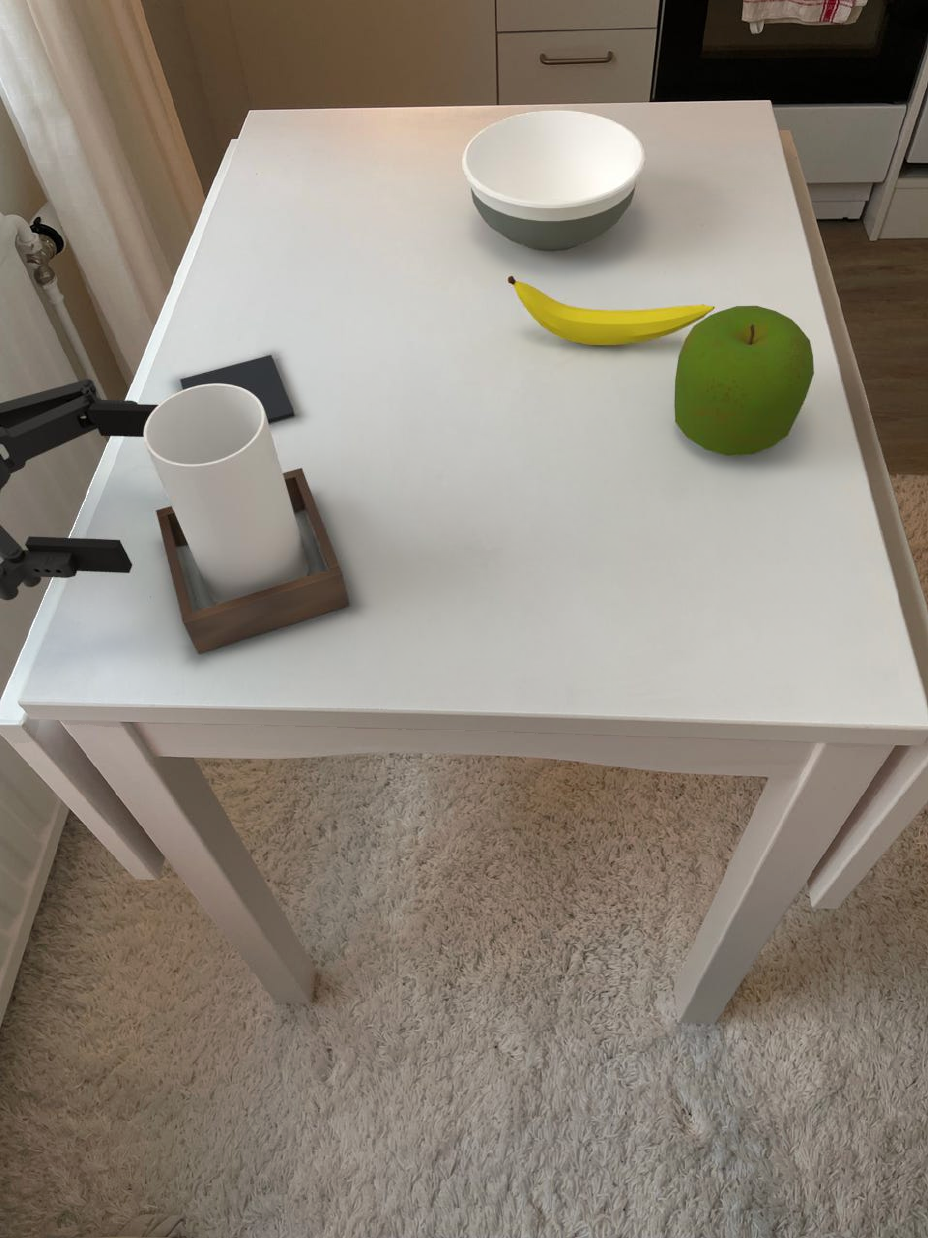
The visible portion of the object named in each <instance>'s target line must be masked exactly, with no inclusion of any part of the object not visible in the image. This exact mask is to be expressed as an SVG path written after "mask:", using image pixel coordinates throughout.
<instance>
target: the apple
mask: <svg viewBox="0 0 928 1238" xmlns="http://www.w3.org/2000/svg"><path fill="white" fill-rule="evenodd" d="M814 374H815V366H814V354H813V348H812V343H811V340H810V338H809V337H808V336H807V335H806V334H805V332H804V331H803V330H802V328H801V327H800V326H799V325H798V324H797V323H796V321H794V320H793V319H792V318H790V317H788V316H786V315H784V314H782V313H780V312H778V311H776V310H774V309H770V308H766V307H762V306H759V305H736V306H733V307H730V308H726V309H723V310H719V311H717V312H715V313H712V314H710V315H708V316H707V317H704V318H703V319H701V320H700V321H699V322H697V323H696V324H695V325H693V327H692V328H691V330H690V331H689V333H688V334H687V336H686V338H685V339H684V341H683V344H682V347H681V349H680V352H679V354H678V358H677V364H676V371H675V379H674V403H673V407H674V422H675V423H676V425H677V427H679V429H680V430H681V431H682V433H683V434H684V435H685V437H686V438H688V439H689V440H691V441H692V442H694V443H695V444H696V445H697V446H699V447H700V448H702V449H704V450H706V451H709V452H713V453H717V454H721V455H724V456H727V457H733V456H734V457H735V456H747V455H748V456H749V455H755V454H757V453H760V452H762V451H765V450H767V449H770V448H773V447H774V446H776V445H777V444H779V443H780V442H782V441H783V440H784V439H786V437H788V436H789V434H790V432H791V430H792V428H793V425H794V424H795V422H796V419H797V418H798V415H799V413H800V412H801V409H802V407H803V405H804V403H805V401H806V399H807V396H808V392H809V390H810V387H811V384H812V381H813V377H814Z"/></svg>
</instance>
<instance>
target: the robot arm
mask: <svg viewBox="0 0 928 1238" xmlns="http://www.w3.org/2000/svg"><path fill="white" fill-rule="evenodd" d="M158 405H159V404H151V403H150V404H147V403H146V404H145V403H143V404H142V403H141V404H140V403H138V402H137V401H134V400H131V399H130V400H129V399H127V400H124V399H121V400H120V399H102V398H101V395H100V394H99V391H98V389H97V387H96V385H95V383H94V381H93V380H92V379H88V378H87V379H82V380H79V381H75V382H72V383H67V384H64V385H61V386H57V387H54V388H50V389H47V390H42V391H39V392H35V393H32V394H28V395H24V396H21V397H17V398H13V399H10V400H7V401H3V402H0V445H2V446H3V447H4V449H5V450H6V452H7V454H8V457H7V458H6V459H4V457H3V455H2V453H0V492H2V489H3V488H4V487H5V486H6V484H7V483H8V482H9V480H10V478H11V476H12V474H14V473H16V472H18V471H20V470H22V469H24V468H25V467H26V464H27V461H29V460H31V459H34V458H35V457H38V456H40V455H42V454H44V453H46V452H49V451H51V450H53V449H55V448H57V447H60V446H62V445H64V444H66V443H68V442H70V441H73V440H75V439H77V438H80V437H81V436H85V435H86V434H88V433H90V432H93V431H95V430H98V432H99V434H100V437H128V438H129V437H130V438H131V437H132V438H144V427H145V424H146V421H147V419H148V417H149V416H150V414H151V413H152V412H153V410H154V409H155V408H156V407H157V406H158ZM24 546H25V547H26V548H27V549H23V548H22V546H21V545H20V544H19V543H18V541H16V539H14V538H13V536H12V535H11V534H10V533H9V532H8V531H7V530H6V529H5V528H4V526H3V525H1V524H0V558H1V560H3V561H2V562H0V599H1V600H3V601H11V600H14V599H15V598H16V597H17V596H18V595H19V593H20V591H19V587H20V585H22V584H23V585H24V586H25V587H26V588H34V587H36V586H38V585H39V584H40V583H41V581H42V578H58V579H59V578H60V579H69V578H73V577H76V575H77V573H78V572H87V573H88V572H91V573H115V574H131V571H132V567H133V562H132V561H131V559H130V556H129V555H128V553H127V551H126V548H124V546H123V544H122V542H121V539H111V538H108V539H107V538H85V537H84V538H81V537H59V536H58V537H57V536H55V537H54V536H30V535H29V536H28V537H27V539H26V542H25V543H24Z"/></svg>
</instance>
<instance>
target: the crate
mask: <svg viewBox="0 0 928 1238" xmlns="http://www.w3.org/2000/svg"><path fill="white" fill-rule="evenodd" d="M282 473H283V476H284V480H285V483H286V487H287V490H288V494H289V497H290V501H291V505H292V508H293V512H294V514H295V513H298V512H302V511H303V512H304V515H305V517H306V521H307V522H308V525H309V528H310V530H311V533H312V536H313V539H314V541H315V544H316V547H317V550H318V552H319V554H320V558H321V560H322V564H323V565H324V568H325V570H323V571H319V572H317V573H313V574H310V575H307V577H304V578H300V579H297V580H294V581H291V582H288V583H284V584H281V585H278V586H275V587H272V588H268V589H265V590H262V591H259V592H256V593H253V594H249V595H246V596H243V597H240V598H237V599H233V600H230V601H227V602H224V603H221V604H218V603H216V604H215V605H212V606H208V607H205V608H202V609H198V605H197V601H196V597H195V593H194V589H193V586H192V581H191V577H190V574H189V570H188V565H187V561H186V558H185V554H184V550H183V547H185V546H189V545H188V543H187V540H186V538H185V536H184V533H183V531H182V529H181V527H180V524H179V522H178V520H177V517H176V515H175V513H174V510H173V508H172V506H171V505H170V506H167V507H166V506H165V507H163V508H160V509H156V510H155V514H156V517H157V521H158V526H159V529H160V534H161V538H162V542H163V546H164V549H165V550H164V551H165V554H166V558H167V562H168V566H169V570H170V571H169V572H170V576H171V579H172V584H173V587H174V591H175V595H176V599H177V604H178V608H179V612H180V617H181V621H182V624H183V626H184V628H185V630H186V632H187V634H188V636H189V639H190V641H191V642H192V644H193V647H194V648H195V650H196V653H197V654H198V655H201V654H204V653H206V652H209V651H212V650H215V649H219V648H221V647H225V646H229V645H231V644H234V643H238V642H240V641H243V640H246V639H249V638H253V637H255V636H258V635H259V636H260V635H262V634H265V633H268V632H271V631H274V630H277V629H281V628H284V627H287V626H290V625H293V624H296V623H299V622H302V621H305V620H308V619H312V618H315V617H318V616H322V615H324V614H327V613H331V612H333V611H336V610H340V609H343V608H346V607H350V606H351V603H350V599H349V595H348V591H347V586H346V582H345V578H344V573H343V571H342V569H341V565H340V563H339V561H338V558H337V555H336V553H335V550H334V548H333V546H332V543H331V540H330V538H329V535H328V532H327V529H326V527H325V524H324V521H323V519H322V517H321V514H320V511H319V509H318V506H317V503H316V501H315V499H314V496H313V493H312V490H311V488H310V485H309V482H308V481H307V478H306V474H305V472H304V470H303V468H302V467H300V468H296V469H293V470H289V471H286V472H282Z"/></svg>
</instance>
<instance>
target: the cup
mask: <svg viewBox="0 0 928 1238" xmlns="http://www.w3.org/2000/svg"><path fill="white" fill-rule="evenodd" d="M157 405H158V406H157V407H156V408H155V409H154V410H153V412H152V413H151V414H150V416H149V417H148V419H147V421H146V424H145V427H144V437H143V440H144V444H145V447H146V450H147V452H148V454H149V457H150V459H151V461H152V464H153V467H154V468H155V470H156V473H157V476H158V478H159V481H160V482H161V485H162V488H163V489H164V491H165V495H166V496H167V498H168V501H169V503H170V506H172V508H173V510H174V513H175V515H176V517H177V520H178V522H179V524H180V527H181V529H182V531H183V533H184V536H185V538H186V540H187V543H188V545H187V546H188V547H189V550H190V552H191V554H192V556H193V559H194V561H195V563H196V566H197V569H198V571H199V574H200V575H201V577H202V579H203V582H204V585H205V586H206V589H207V592H208V593H209V595H210V597H211V599H213V601H214V602H215V603H216V604H221V603H224V602H227V601H230V600H233V599H237V598H240V597H243V596H246V595H249V594H253V593H256V592H259V591H262V590H265V589H268V588H272V587H275V586H278V585H281V584H284V583H288V582H291V581H294V580H297V579H300V578H304V577H307V576H308V573H309V561H308V558H307V553H306V550H305V547H304V544H303V540H302V537H301V534H300V530H299V529H300V528H299V525H298V522H297V519H296V516H295V513H294V512H293V508H292V505H291V501H290V497H289V494H288V490H287V487H286V483H285V480H284V476H283V473H284V472H283V469H282V465H281V462H280V459H279V456H278V451H277V448H276V444H275V442H274V437H273V434H272V431H271V427H270V423H269V424H268V420H267V417H266V413H265V410H264V408H263V406H262V404H261V402H260V401H259V399H258V398H257V397H256V396H255V395H254V394H252V393H251V392H249V391H248V390H246V389H243V388H241V387H238V386H234V385H229V384H205V385H199V386H194V387H191V388H188V389H185V390H183V389H182V390H180V391H178V392H175V393H174V394H171V395H170V396H169V397H167V398H166V399H164V400H163V401H162V402H160V403H159V404H157Z"/></svg>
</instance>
